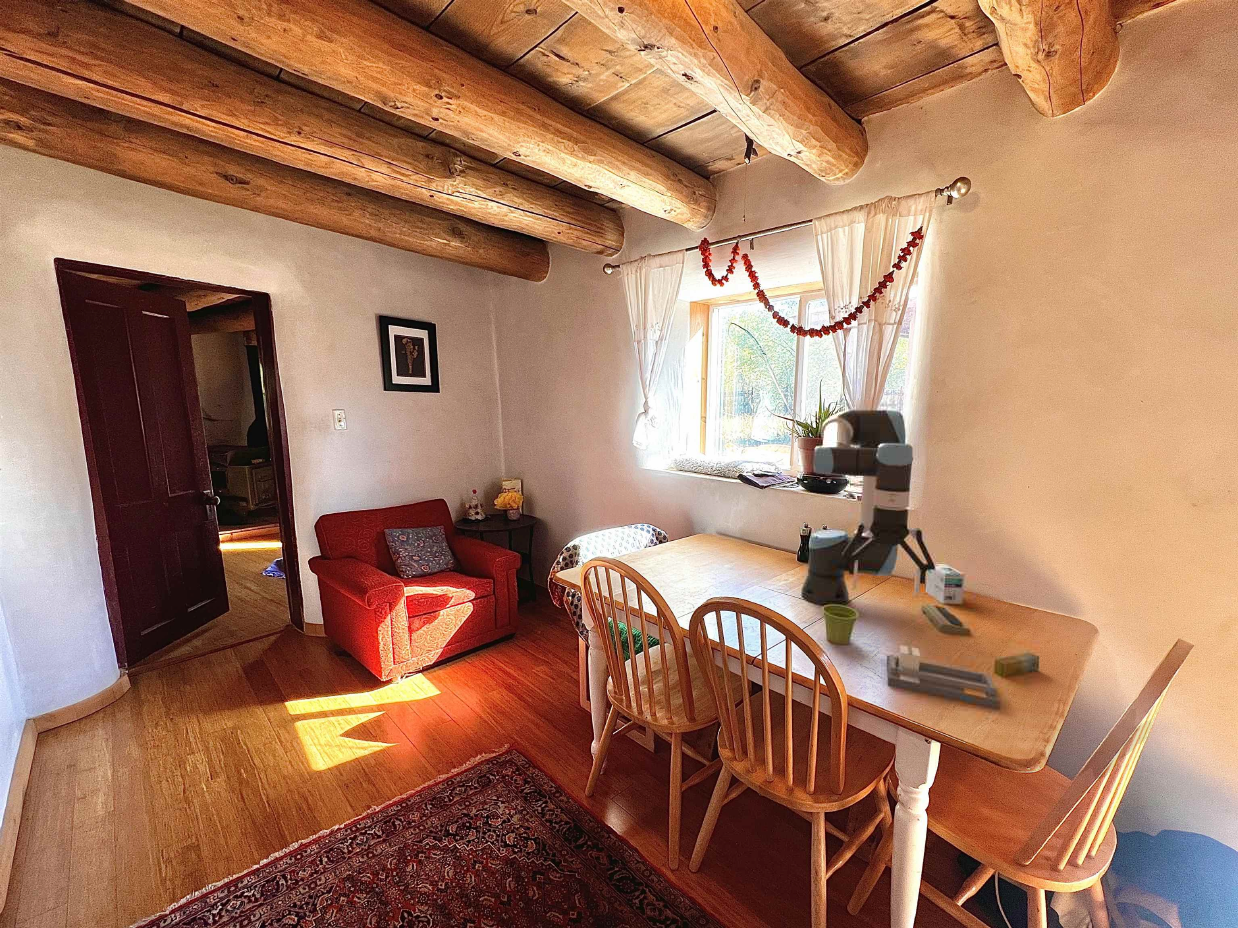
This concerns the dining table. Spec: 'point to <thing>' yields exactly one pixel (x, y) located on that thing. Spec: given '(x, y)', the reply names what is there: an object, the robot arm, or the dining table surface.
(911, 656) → the white cardboard box
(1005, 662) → the medication box
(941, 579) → the light bulb box
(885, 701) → the dining table surface
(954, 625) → the computer
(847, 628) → the plant pot
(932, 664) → the grey tray
